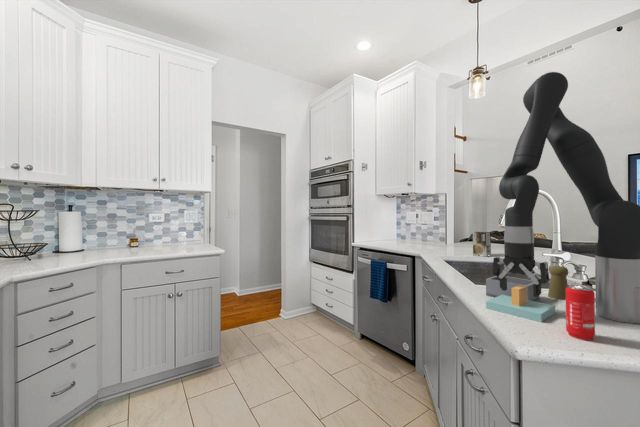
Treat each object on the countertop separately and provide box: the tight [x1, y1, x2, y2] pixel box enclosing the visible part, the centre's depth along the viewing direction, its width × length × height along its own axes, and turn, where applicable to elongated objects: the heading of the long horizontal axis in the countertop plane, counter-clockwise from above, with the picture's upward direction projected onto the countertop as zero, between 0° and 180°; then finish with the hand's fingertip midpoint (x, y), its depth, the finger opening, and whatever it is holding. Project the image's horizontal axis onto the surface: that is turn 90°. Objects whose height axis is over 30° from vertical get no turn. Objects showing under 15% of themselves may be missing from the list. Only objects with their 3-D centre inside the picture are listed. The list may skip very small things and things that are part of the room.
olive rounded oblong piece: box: [547, 265, 569, 301], centre depth 99 cm, size 6×6×11 cm
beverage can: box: [565, 284, 596, 341], centre depth 69 cm, size 5×5×12 cm
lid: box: [485, 285, 556, 323], centre depth 87 cm, size 14×11×7 cm
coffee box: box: [472, 231, 492, 257], centre depth 190 cm, size 9×6×16 cm
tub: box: [485, 275, 540, 302], centre depth 100 cm, size 13×10×6 cm
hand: (519, 293), depth 87 cm, fingers open, 8 cm apart
